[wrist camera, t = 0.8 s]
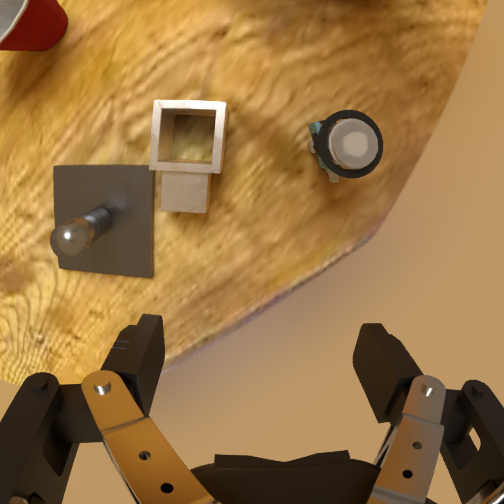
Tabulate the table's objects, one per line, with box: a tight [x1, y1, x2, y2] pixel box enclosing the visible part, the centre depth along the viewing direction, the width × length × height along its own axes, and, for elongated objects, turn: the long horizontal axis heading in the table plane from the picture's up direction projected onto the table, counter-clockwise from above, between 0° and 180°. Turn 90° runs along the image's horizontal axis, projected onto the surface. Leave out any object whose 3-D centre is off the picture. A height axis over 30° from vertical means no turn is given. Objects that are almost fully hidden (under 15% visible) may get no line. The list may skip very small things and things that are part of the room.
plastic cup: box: [0, 0, 68, 51], centre depth 19 cm, size 11×11×12 cm
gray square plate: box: [50, 165, 155, 278], centre depth 28 cm, size 12×12×9 cm
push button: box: [308, 110, 383, 183], centre depth 26 cm, size 7×5×10 cm
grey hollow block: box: [149, 100, 228, 213], centre depth 28 cm, size 10×6×6 cm, turn 175°
